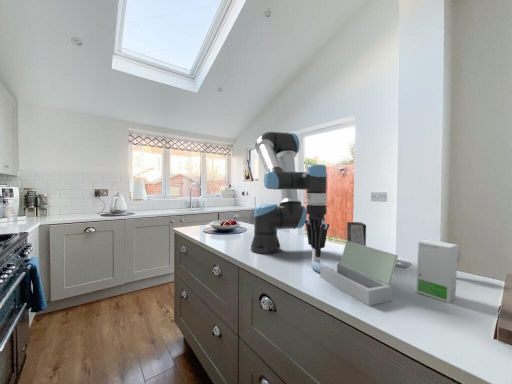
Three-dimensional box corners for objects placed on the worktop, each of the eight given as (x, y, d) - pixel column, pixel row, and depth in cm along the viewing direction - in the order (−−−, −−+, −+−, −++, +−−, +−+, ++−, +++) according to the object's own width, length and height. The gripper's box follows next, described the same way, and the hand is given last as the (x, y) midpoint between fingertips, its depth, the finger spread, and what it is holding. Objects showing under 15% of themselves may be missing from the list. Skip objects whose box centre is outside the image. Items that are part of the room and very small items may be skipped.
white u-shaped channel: (320, 277, 82) (320, 266, 82) (339, 274, 85) (339, 263, 85) (368, 305, 62) (368, 290, 62) (391, 300, 65) (391, 286, 65)
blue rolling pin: (314, 271, 91) (309, 266, 90) (319, 264, 91) (314, 259, 91) (331, 280, 81) (326, 275, 80) (336, 273, 82) (331, 267, 81)
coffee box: (366, 262, 99) (366, 224, 99) (350, 261, 101) (350, 224, 100) (361, 256, 108) (361, 221, 108) (346, 255, 109) (346, 221, 109)
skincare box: (415, 292, 71) (416, 241, 70) (423, 287, 75) (424, 238, 74) (450, 303, 64) (451, 246, 64) (457, 297, 68) (458, 243, 68)
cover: (346, 240, 86) (348, 241, 86) (340, 263, 85) (341, 263, 86) (396, 254, 67) (398, 255, 68) (388, 284, 67) (390, 284, 67)
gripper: (299, 203, 96) (299, 260, 97) (318, 205, 84) (317, 270, 84) (314, 203, 99) (314, 258, 99) (335, 205, 87) (335, 268, 87)
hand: (316, 264), depth 92 cm, fingers closed
